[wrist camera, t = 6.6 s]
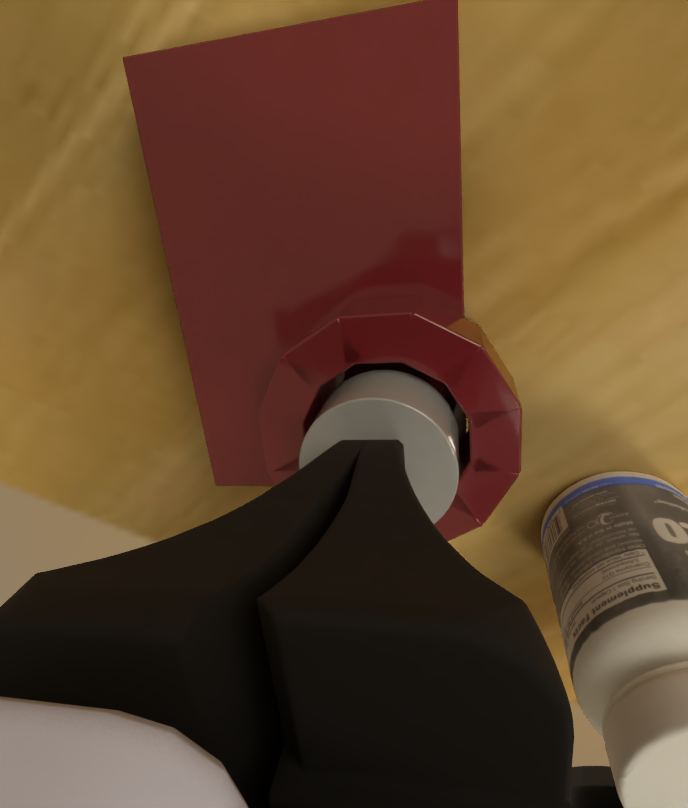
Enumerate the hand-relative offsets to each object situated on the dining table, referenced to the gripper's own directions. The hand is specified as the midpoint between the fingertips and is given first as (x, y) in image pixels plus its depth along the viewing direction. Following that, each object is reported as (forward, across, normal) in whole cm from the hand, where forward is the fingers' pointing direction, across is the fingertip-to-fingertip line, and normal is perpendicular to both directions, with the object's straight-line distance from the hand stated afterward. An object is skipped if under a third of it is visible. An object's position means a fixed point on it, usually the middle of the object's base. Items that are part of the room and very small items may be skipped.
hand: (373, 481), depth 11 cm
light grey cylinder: (+2, 0, 0) cm, 2 cm away
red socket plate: (+6, +2, -4) cm, 7 cm away
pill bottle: (+6, -7, +5) cm, 10 cm away
